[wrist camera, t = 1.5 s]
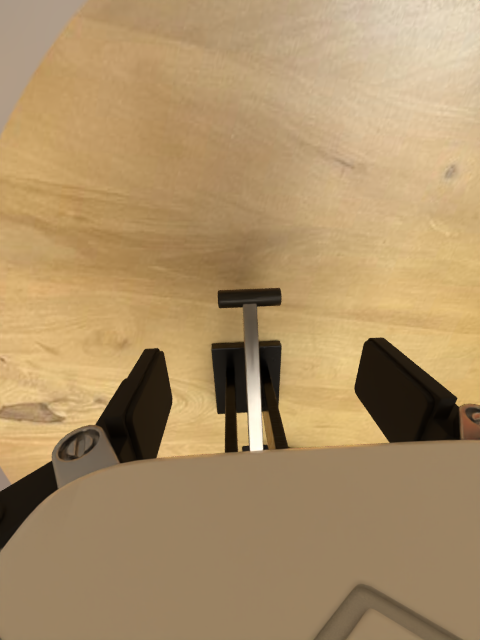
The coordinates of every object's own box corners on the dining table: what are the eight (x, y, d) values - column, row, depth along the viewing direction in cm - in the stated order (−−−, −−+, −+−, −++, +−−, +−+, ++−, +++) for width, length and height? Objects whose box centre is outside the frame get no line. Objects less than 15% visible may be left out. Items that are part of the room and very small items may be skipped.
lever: (218, 292, 20) (216, 288, 18) (276, 289, 21) (282, 285, 18) (227, 479, 21) (226, 500, 18) (285, 475, 21) (291, 496, 18)
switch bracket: (212, 343, 28) (199, 452, 16) (279, 340, 28) (320, 444, 16) (217, 407, 32) (211, 532, 20) (276, 404, 32) (306, 526, 20)
